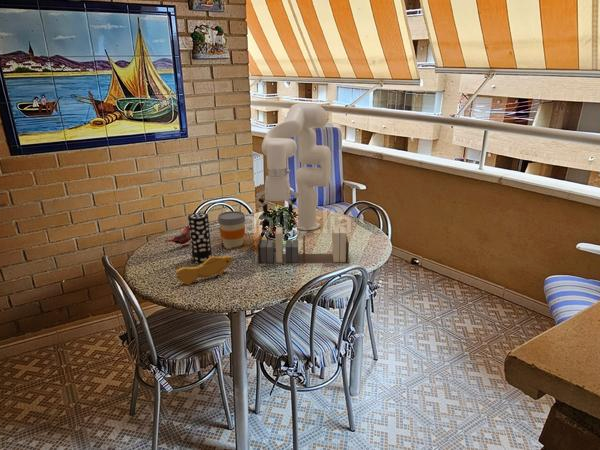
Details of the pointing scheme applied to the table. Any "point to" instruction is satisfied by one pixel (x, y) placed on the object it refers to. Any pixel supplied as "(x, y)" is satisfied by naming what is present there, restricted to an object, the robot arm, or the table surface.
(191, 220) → the white-spotted black cylinder
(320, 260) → the book rack
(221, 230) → the reusable coffee cup
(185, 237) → the decorative bird figurine
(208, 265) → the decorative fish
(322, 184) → the robot arm
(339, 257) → the cream books
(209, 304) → the table surface
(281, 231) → the cream book
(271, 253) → the grey books
